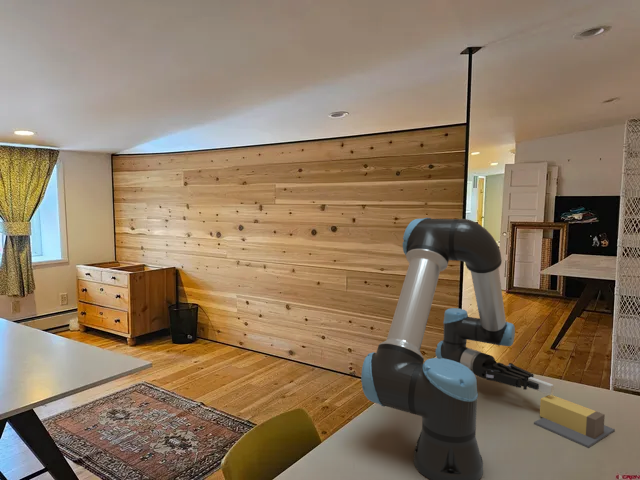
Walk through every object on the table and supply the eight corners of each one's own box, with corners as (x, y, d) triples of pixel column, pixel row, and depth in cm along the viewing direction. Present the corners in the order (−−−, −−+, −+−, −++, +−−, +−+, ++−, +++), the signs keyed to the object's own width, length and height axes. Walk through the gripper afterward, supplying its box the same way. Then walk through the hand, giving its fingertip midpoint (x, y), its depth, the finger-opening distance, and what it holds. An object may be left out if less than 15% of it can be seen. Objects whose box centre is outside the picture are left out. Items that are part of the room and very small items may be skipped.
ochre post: (539, 416, 120) (594, 438, 108) (540, 398, 119) (595, 419, 108) (549, 411, 122) (603, 433, 111) (550, 394, 122) (604, 414, 110)
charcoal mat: (588, 447, 105) (588, 445, 105) (533, 423, 116) (533, 422, 116) (614, 431, 113) (614, 429, 113) (561, 410, 124) (561, 408, 124)
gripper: (490, 370, 142) (563, 397, 123) (465, 379, 135) (538, 409, 116) (491, 348, 142) (565, 371, 122) (466, 356, 135) (539, 382, 115)
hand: (552, 390), depth 119 cm, fingers closed
